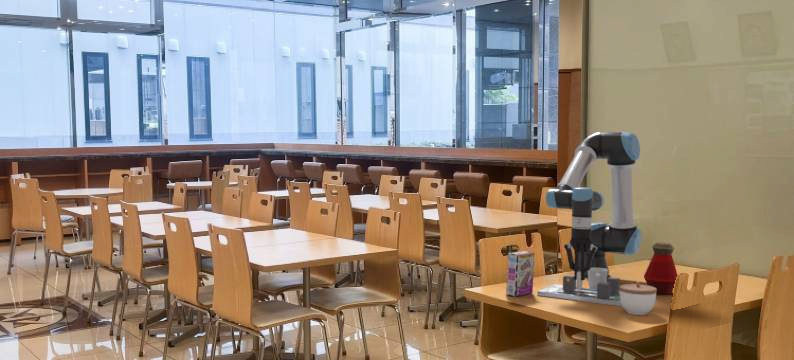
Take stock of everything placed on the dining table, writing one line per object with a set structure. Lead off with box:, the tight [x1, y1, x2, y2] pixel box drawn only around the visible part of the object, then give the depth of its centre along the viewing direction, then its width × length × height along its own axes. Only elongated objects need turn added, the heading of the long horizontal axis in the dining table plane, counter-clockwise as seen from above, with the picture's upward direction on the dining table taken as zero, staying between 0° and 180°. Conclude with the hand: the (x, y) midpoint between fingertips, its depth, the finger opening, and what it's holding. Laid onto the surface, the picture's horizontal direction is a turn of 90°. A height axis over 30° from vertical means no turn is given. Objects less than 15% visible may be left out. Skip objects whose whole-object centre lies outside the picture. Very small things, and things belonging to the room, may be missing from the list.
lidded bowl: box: [619, 281, 657, 316], centre depth 275 cm, size 13×13×11 cm
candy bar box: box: [505, 250, 535, 298], centre depth 303 cm, size 11×5×16 cm, turn 134°
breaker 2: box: [597, 281, 611, 299], centre depth 292 cm, size 4×4×5 cm
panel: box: [536, 283, 622, 307], centre depth 301 cm, size 18×34×2 cm, turn 58°
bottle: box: [643, 241, 679, 296], centre depth 313 cm, size 16×14×20 cm
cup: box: [587, 268, 608, 289], centre depth 317 cm, size 11×8×8 cm
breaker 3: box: [606, 276, 621, 293], centre depth 302 cm, size 4×4×5 cm
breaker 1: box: [562, 274, 577, 291], centre depth 305 cm, size 4×4×5 cm
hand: (579, 288), depth 303 cm, fingers closed
